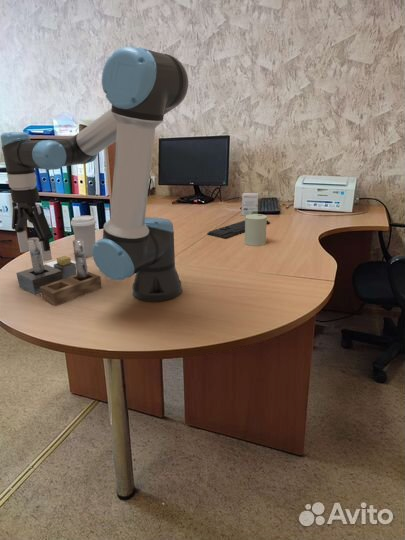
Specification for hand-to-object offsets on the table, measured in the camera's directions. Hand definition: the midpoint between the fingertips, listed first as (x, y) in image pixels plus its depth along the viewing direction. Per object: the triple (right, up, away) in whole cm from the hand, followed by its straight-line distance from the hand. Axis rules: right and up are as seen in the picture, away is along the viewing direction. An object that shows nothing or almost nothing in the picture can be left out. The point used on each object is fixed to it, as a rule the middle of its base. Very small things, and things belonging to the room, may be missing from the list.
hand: (35, 255), depth 122 cm
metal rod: (0, -10, +4) cm, 10 cm away
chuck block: (+2, -9, +6) cm, 11 cm away
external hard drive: (-1, -4, +20) cm, 21 cm away
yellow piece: (+6, -6, +10) cm, 13 cm away
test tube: (+15, -10, +1) cm, 18 cm away
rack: (+12, -12, -2) cm, 17 cm away
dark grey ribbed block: (+71, +15, +65) cm, 97 cm away
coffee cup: (+7, +1, +33) cm, 33 cm away
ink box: (+79, +26, +92) cm, 124 cm away
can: (+75, +7, +44) cm, 87 cm away
